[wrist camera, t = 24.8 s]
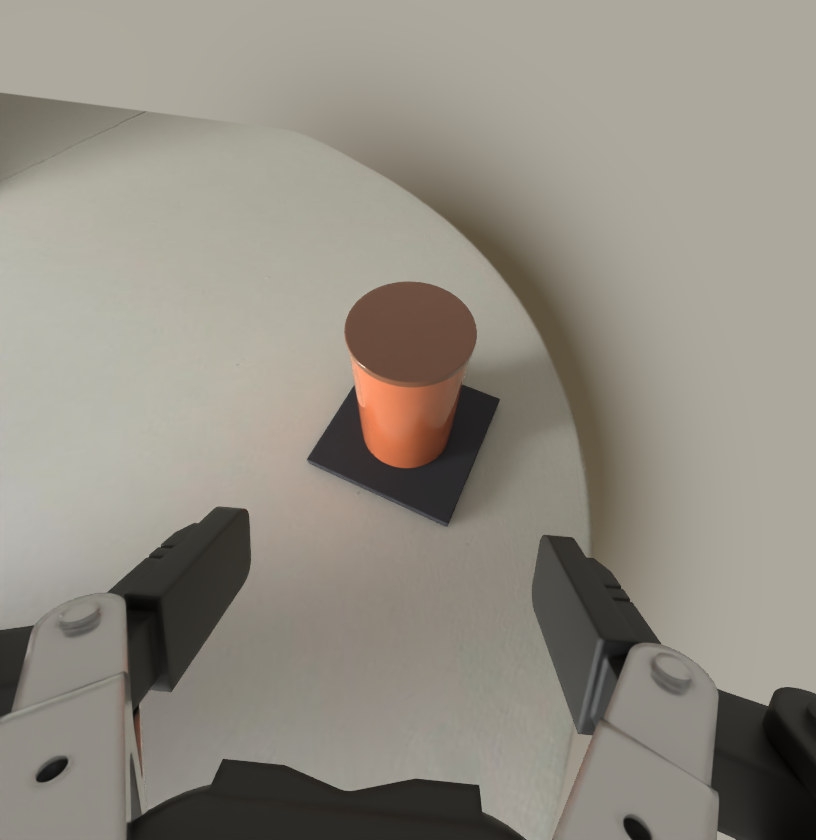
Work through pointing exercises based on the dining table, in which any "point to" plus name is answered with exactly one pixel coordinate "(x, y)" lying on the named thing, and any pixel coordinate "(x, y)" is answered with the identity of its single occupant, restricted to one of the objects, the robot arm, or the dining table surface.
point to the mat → (409, 487)
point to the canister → (408, 368)
